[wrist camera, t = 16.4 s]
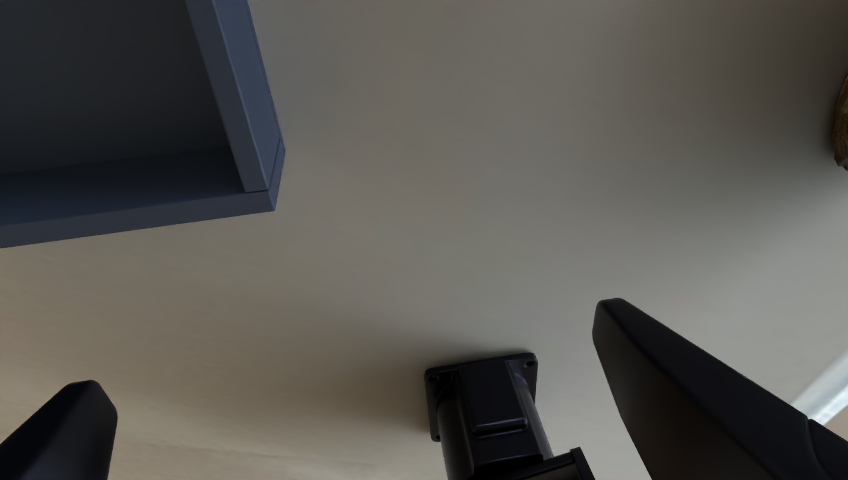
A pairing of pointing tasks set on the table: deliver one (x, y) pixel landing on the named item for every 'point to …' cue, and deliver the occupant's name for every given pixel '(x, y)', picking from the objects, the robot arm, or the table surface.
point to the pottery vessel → (841, 128)
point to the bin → (131, 117)
